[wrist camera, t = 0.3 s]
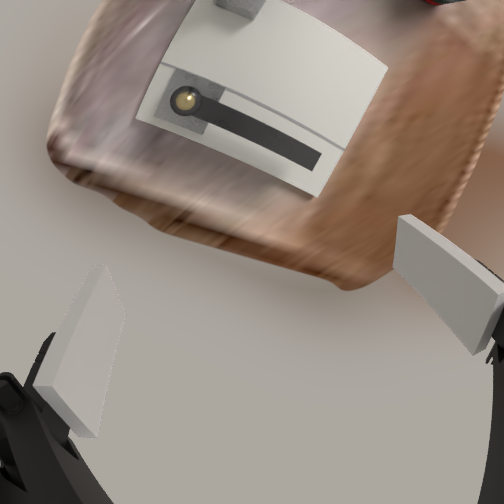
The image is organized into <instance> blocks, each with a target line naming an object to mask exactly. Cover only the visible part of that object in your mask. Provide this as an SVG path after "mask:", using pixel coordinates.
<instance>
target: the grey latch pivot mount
mask: <svg viewBox="0 0 504 504" xmlns="http://www.w3.org/2000/svg"><path fill="white" fill-rule="evenodd" d="M182 86H191V87H194V88H195V89H197V90H198V91H199V92H200V94H201V95H203V96H205V97H207V98H210V99H212V100H215V101H217V102H219V101H220V99H221V97H222V95H223V93H224V91H225V89H226V88H225V87H223V86H221V85H219V84H216V83H214V82H211V81H209V80H207V79H204V78H202V77H199V76H197V75H194V74H191V73H189V72H186V71H184V70H181V69H178V68H176V69H175V71H174V73H173V75H172V78H171V80H170V82H169V84H168V86H167V88H166V90H165V92H164V94H163V96H162V99H161V101H160V103H159V105H158V107H157V110H156V112H155V114H154V117H157V118H160V119H162V120H165V121H168V122H170V123H173V124H175V125H178V126H180V127H183V128H185V129H188V130H190V131H193V132H195V133H198V134H200V135H203V133H204V131H205V129H206V127H207V125H208V122H206V121H204V120H201V119H199V118H196V117H194V116H191V115H190V116H180V115H178V114H176V113H175V112H174V111H173V110H172V108H171V106H170V98H171V95H172V94H173V92H174V91H175V90H176V89H178V88H180V87H182Z"/></svg>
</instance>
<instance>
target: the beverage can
mask: <svg viewBox="0 0 504 504" xmlns="http://www.w3.org/2000/svg"><path fill="white" fill-rule="evenodd" d="M425 1H426V2H428V3H430V4H432V5H443V4H448V3H454V2H459V1H465V0H425Z"/></svg>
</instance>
